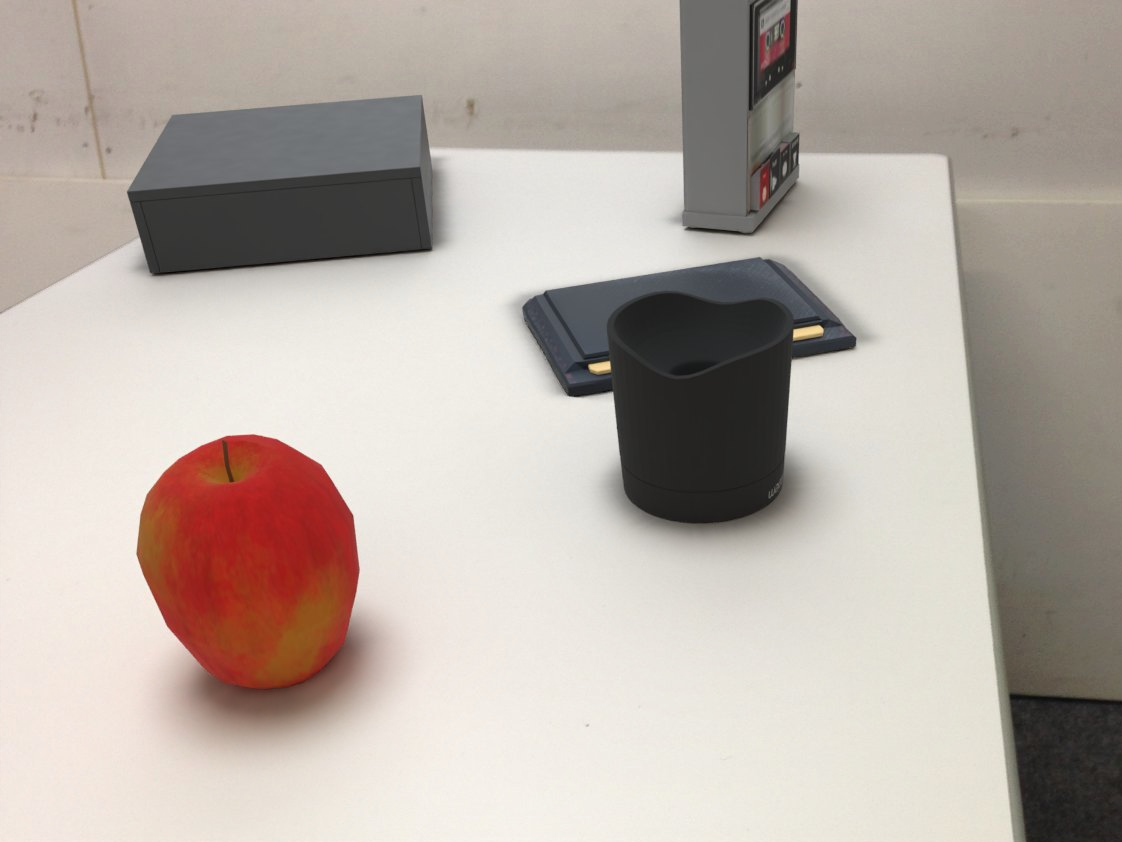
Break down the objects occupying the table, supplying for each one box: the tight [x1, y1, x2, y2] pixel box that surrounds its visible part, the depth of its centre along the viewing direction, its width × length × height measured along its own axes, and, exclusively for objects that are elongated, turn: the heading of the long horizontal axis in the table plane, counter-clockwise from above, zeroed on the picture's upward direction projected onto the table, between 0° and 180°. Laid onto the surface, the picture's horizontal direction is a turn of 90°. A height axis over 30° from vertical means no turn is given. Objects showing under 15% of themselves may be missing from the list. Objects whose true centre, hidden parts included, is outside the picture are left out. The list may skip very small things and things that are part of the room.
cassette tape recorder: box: [679, 0, 800, 234], centre depth 100 cm, size 14×6×25 cm, turn 159°
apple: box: [135, 433, 361, 690], centre depth 56 cm, size 9×9×12 cm
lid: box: [126, 94, 433, 274], centre depth 107 cm, size 22×21×6 cm
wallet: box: [521, 256, 857, 397], centre depth 87 cm, size 20×2×15 cm
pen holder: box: [607, 291, 794, 525], centre depth 67 cm, size 9×9×10 cm
